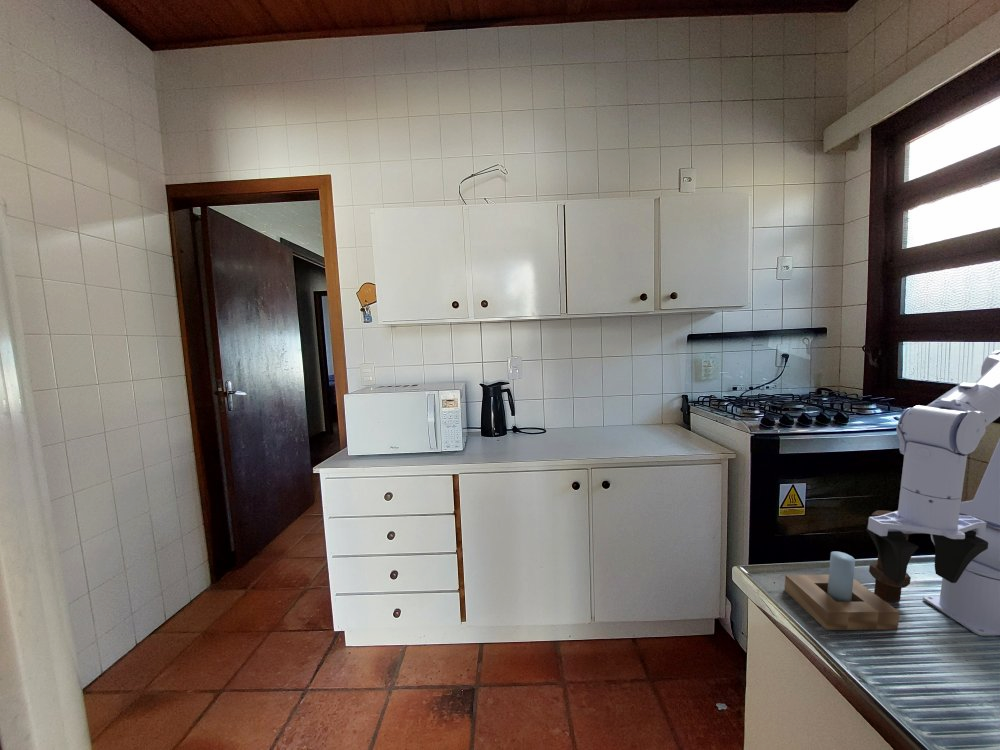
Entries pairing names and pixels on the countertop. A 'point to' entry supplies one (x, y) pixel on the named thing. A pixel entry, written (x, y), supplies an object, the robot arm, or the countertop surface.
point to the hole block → (841, 605)
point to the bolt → (883, 584)
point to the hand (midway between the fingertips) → (919, 578)
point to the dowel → (841, 576)
